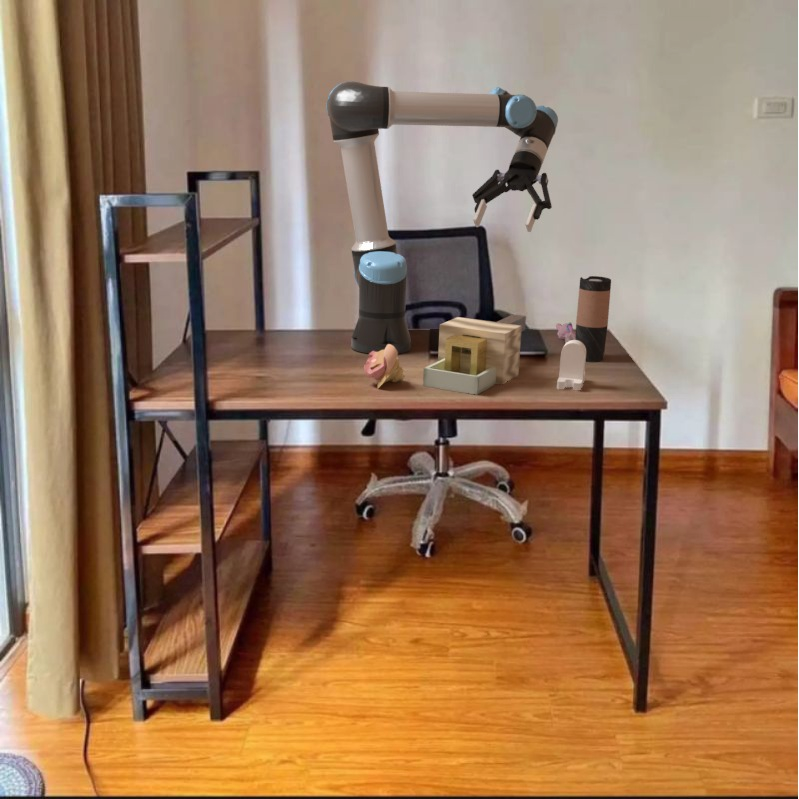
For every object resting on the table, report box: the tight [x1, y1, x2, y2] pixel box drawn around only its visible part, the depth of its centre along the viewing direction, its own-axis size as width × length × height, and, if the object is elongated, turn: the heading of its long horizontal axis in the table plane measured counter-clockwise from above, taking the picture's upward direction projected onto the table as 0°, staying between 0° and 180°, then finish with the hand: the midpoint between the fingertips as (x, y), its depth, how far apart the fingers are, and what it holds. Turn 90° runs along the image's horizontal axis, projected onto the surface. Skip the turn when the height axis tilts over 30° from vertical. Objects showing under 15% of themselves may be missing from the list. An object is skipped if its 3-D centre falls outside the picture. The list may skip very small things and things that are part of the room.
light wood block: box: [437, 316, 522, 385], centre depth 233 cm, size 10×16×12 cm, turn 62°
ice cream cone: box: [363, 344, 406, 389], centre depth 224 cm, size 9×10×10 cm
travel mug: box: [575, 275, 612, 363], centre depth 250 cm, size 8×8×20 cm
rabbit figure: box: [555, 322, 576, 344], centre depth 270 cm, size 6×6×15 cm
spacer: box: [445, 334, 487, 376], centre depth 227 cm, size 5×8×9 cm, turn 63°
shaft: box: [466, 314, 527, 351], centre depth 242 cm, size 28×4×4 cm, turn 152°
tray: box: [422, 358, 497, 396], centre depth 226 cm, size 13×10×4 cm
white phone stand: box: [556, 340, 587, 391], centre depth 228 cm, size 5×10×10 cm, turn 165°
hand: (501, 225), depth 247 cm, fingers open, 13 cm apart
